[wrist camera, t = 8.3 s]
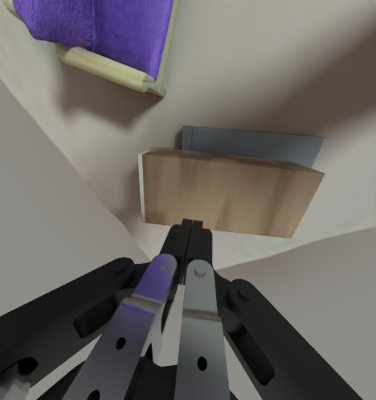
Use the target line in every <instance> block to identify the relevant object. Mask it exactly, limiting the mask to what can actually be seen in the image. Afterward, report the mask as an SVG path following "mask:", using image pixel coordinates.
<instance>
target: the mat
mask: <svg viewBox="0 0 376 400" xmlns="http://www.w3.org/2000/svg"><path fill="white" fill-rule="evenodd" d="M324 138H325V137H315V136H302V135H290V134H277V133H264V132H252V131H239V130H226V129H214V128H201V127H190V126H183V132H182V150H188V151H197V152H207V153H217V154H227V155H236V156H246V157H256V158H265V159H275V160H285V161H291V162H294V163H297V164H299V165H302V166H305V167H308V168H311V167H312V164H313V162H314V160H315V158H316V156H317V153H318V151H319V149H320V147H321V145H322V142H323V140H324Z"/></svg>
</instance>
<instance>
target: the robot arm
mask: <svg viewBox="0 0 376 400" xmlns="http://www.w3.org/2000/svg"><path fill="white" fill-rule="evenodd" d="M202 227H203V221H199V220H192V219H185V218H183V220H182V223H181V225H179V224H174V225H173V226H172V227H171V228H170V230H169V233H168V235H167V238H166V240H165V242H164V244H163V247H162V249H161V251H160V254H159V255H157V256H156V257H154V258H153V259H152V261H151V262H148V263H143V264H134V262H133V260H131V259H130V258H126V257H122V258H118V259H115V260H113V261H111V262H109V263H107V264H105V265H103V266H101V267H99V268H97V269H95V270H93V271H91V272H89V273H87V274H85V275H83V276H81V277H79V278H77V279H75V280H73V281H71V282H69V283H67V284H65V285H63V286H61V287H59V288H57V289H55V290H53V291H51V292H49V293H47V294H44V295H42V296H41V297H38V298H36V299H34V300H32V301H30V302H28V303H26V304H24V305H22V306H20V307H18V308H16V309H14V310H12V311H10V312H8V313H6V314H4V315H2V316H0V400H25V398H26V396H27V394H28V391H29V389H30V388H31V387H32V386H34V385H35V384H36V383H38V382H39V381H40V380H42V379H43V378H44V377H45V376H47V375H48V374H49V373H51V372H52V371H53V370H55V369H56V368H57V367H58V366H60V365H61V364H62V363H64V362H65V361H67V360H68V359H69V358H70V357H72V356H73V355H74V354H76V353H77V352H78V351H80V350H81V349H82V348H84V347H85V346H86V345H87V344H89V343H90V342H91V341H93V340H94V339H95V338H97V337H98V336H99V335H101V334H102V335H101V336H100V338H99V340H98V341H97V343H96V344H95V346H94V348H93V349H92V351H91V353H90V354H89V356H88V358H87V359H86V360H85V361H83V362H82V363H80V364H79V365H78V366H76V367H75V368H74V369H72V370H71V371H70V372H68V373H67V374H66V375H65V376H64V377H62V378H61V379H60V380H59V381H58V382H57V383H55V384H54V385H53V386H52V387H51V388H49V389H48V390H47V391H46V392H45V393H44V394H43V395H41V396H40V397H39V398H38V399H37V400H238V399H237V398H236V397H235V395H234V394H233V393H232V392H231V391H230V390H229V382H228V373H227V364H226V355H225V347H224V337H223V335H224V336H225V338H226V340H227V341H228V343H229V344H230V346H231V348H232V350H233V351H234V353H235V354H236V356H237V358H238V360H239V361H240V363H241V365H242V366H243V368H244V370H245V371H246V373H247V375H248V376H249V378H250V379H251V381H252V383H253V385H254V386H255V388H256V390H257V391H258V393H259V395H260V396H261V398H262V400H363V399H362V398H361V397H360V396H359V395H358V394H357V393H356V392H355V391H354V390H353V389H352V388H351V387H350V386H349V385H348V384H347V383H346V382H345V381H344V380H343V378H342V377H341V376H340V375H339V374H338V373H337V372H336V371H335V370H334V369H333V368H332V367H331V366H330V365H329V364H328V363H327V362H326V361H325V360H324V359H323V358H322V357H321V356H320V354H319V353H318V352H317V351H316V350H315V349H314V348H313V347H312V346H311V345H310V344H309V343H308V342H307V341H306V340H305V339H304V338H303V337H302V336H301V335H300V334H299V333H298V332H297V331H296V329H295V328H294V327H293V326H292V325H291V324H290V323H289V322H288V321H287V320H286V319H285V318H284V317H283V316H282V315H281V314H280V313H279V312H278V311H277V310H276V308H275V307H274V306H273V305H272V304H271V303H270V302H269V301H268V300H267V299H266V298H265V297H264V296H263V295H262V294H261V293H260V292H259V291H258V290H257V289H256V288H255V287H254V286H253V285H252V284H251V283H250V282H248V281H246V280H243V279H235V280H233V281H232V282H230V281H228V280H227V279H225V278H222V277H221V276H219V275H218V274H217V273H216V271H215V270H214V268H213V265H212V233H211V231H210V229H206V228H202ZM183 277H184V280H183ZM182 282H183V285H185V293H184V303H183V313H182V323H181V334H180V344H179V354H178V364H177V365H172V366H164V367H160V366H158V365H157V361H158V357H159V354H160V350H161V344H162V339H163V336H164V332H165V329H166V325H167V322H168V319H169V315H170V312H171V309H172V305H173V302H174V299H175V294H176V291H177V287H178V284H182Z"/></svg>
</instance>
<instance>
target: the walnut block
mask: <svg viewBox="0 0 376 400" xmlns="http://www.w3.org/2000/svg"><path fill="white" fill-rule="evenodd" d="M138 165H139V182H140V198H141V214H142V223H151V224H160V225H170V226H173V225H174V224H179V225H181V223H182V220H183V218H185V219H192V220H199V221H203V227H202V228H206V229H210V230H216V231H226V232H235V233H244V234H254V235H263V236H273V237H282V238H292V236H293V234H294V232H295V230H296V228H297V226H298V224H299V222H300V221H301V219H302V217H303V215H304V213H305V211H306V209H307V207H308V205H309V203H310V201H311V200H312V198H313V196H314V194H315V192H316V190H317V188H318V186H319V184H320V182H321V180H322V179H323V177H324V175H325V173H322V172H319V171H316V170H314V169H311V168H308V167H305V166H302V165H299V164H297V163H294V162H291V161H285V160H275V159H265V158H256V157H246V156H236V155H227V154H217V153H207V152H197V151H188V150H178V149H168V148H158V147H153V148H151V149H149V150H146V151H144V152H142V153H139V154H138Z"/></svg>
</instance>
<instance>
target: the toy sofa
mask: <svg viewBox="0 0 376 400" xmlns="http://www.w3.org/2000/svg"><path fill="white" fill-rule="evenodd" d="M3 2H4V4H5V5H6V7H7V9H8V10H9V11H10V12H11V13H12V14H13V15H14V16H15V17H16V18H18V19H19V20H21V21H22V22H24V23H25V25H26V26H27V28H28V30H29V32H30V34H31V36H32V37H33V38H35V39H37V40H44V41H49V42H54V43H57V44H56V52H57V54H58V56H59V57H60V59H61V60H62V61H63V62H64V63H66V64H68V65H71V66H73V67H76V68H79V69H81V70H84V71H86V72H89V73H92V74H94V75H97V76H99V77H102V78H105V79H107V80H110V81H112V82H115V83H117V84H120V85H123V86H125V87H128V88H130V89H133V90H135V91H138V92H140V93H145V92H150V93H153V94H155V95H158V96H160V97H165V94H166V90H165V89H164V88H163V81H164V75H165V70H166V65H167V60H168V55H169V50H170V45H171V40H172V35H173V30H174V25H175V20H176V15H177V10H178V5H179V0H3Z"/></svg>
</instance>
